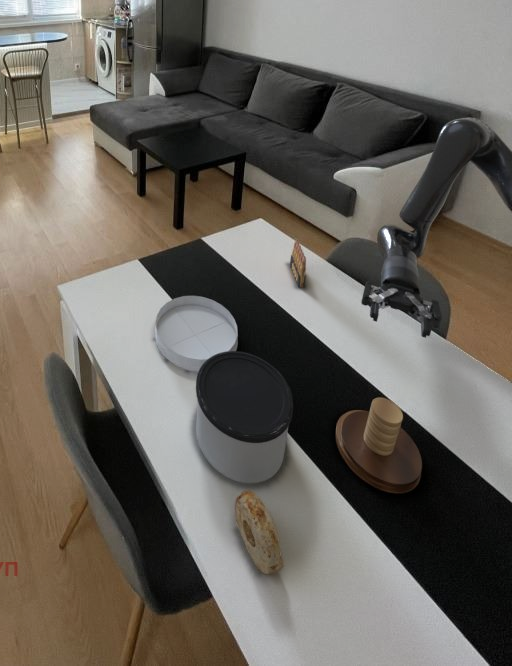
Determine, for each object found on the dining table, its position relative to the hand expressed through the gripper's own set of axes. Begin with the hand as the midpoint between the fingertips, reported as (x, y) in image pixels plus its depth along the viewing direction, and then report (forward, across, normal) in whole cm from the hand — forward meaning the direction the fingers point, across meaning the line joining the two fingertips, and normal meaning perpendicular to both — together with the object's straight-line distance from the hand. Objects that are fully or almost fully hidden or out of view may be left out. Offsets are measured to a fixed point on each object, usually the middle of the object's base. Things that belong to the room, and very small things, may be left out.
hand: (399, 326), depth 88 cm
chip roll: (+12, 0, +20) cm, 24 cm away
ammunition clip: (-35, -24, +24) cm, 49 cm away
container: (+23, -25, +24) cm, 42 cm away
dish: (+3, -43, +24) cm, 49 cm away
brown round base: (+12, 0, +24) cm, 27 cm away
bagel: (+40, -18, +24) cm, 50 cm away
